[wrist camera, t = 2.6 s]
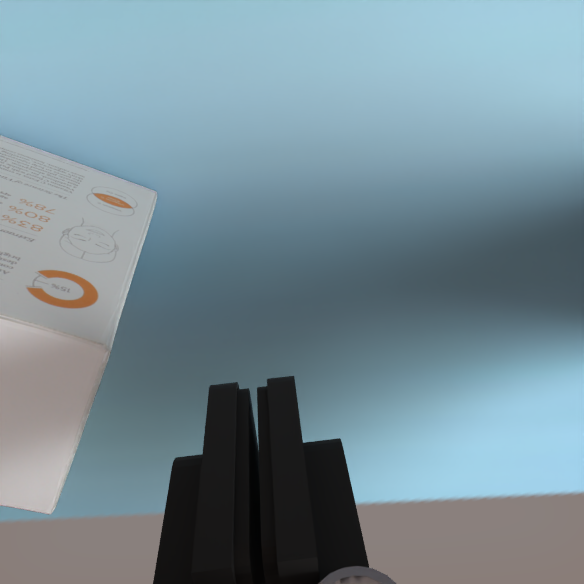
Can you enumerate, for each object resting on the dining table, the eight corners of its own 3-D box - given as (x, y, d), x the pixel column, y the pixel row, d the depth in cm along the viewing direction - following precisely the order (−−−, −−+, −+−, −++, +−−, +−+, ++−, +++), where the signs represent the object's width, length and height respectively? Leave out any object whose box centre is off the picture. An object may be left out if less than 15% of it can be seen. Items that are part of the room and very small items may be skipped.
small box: (-52, 254, 25) (-289, 461, 13) (-29, 121, 22) (-292, 234, 11) (124, 306, 27) (53, 522, 15) (162, 190, 25) (112, 345, 13)
